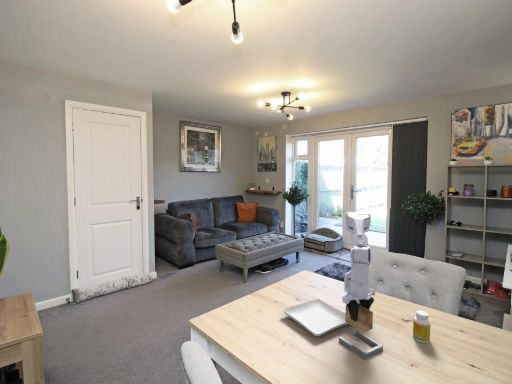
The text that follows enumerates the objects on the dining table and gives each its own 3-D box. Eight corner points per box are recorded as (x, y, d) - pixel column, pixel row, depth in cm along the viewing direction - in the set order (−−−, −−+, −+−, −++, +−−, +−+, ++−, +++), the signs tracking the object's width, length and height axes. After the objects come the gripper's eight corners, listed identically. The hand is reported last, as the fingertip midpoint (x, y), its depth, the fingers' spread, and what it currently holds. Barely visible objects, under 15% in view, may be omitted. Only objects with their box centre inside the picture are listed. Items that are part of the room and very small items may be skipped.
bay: (357, 333, 104) (357, 330, 104) (382, 350, 94) (383, 345, 94) (338, 341, 99) (338, 337, 99) (364, 359, 90) (364, 354, 90)
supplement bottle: (424, 344, 98) (425, 318, 97) (409, 336, 102) (410, 311, 102) (433, 340, 100) (434, 314, 99) (418, 332, 105) (419, 308, 104)
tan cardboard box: (353, 318, 102) (354, 302, 102) (372, 328, 95) (373, 312, 95) (345, 321, 100) (345, 305, 99) (363, 332, 93) (364, 315, 92)
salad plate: (355, 326, 110) (355, 317, 110) (316, 343, 99) (316, 334, 99) (317, 304, 128) (317, 297, 128) (281, 317, 117) (281, 309, 117)
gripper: (354, 289, 89) (353, 329, 90) (383, 280, 96) (382, 318, 97) (338, 281, 95) (337, 319, 96) (366, 274, 102) (365, 309, 103)
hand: (358, 318), depth 97 cm, fingers closed on tan cardboard box, 4 cm apart
